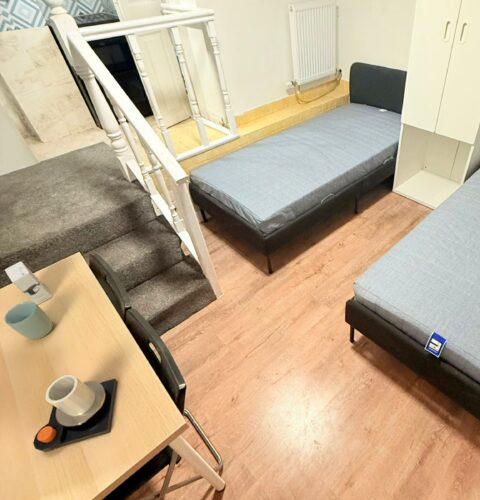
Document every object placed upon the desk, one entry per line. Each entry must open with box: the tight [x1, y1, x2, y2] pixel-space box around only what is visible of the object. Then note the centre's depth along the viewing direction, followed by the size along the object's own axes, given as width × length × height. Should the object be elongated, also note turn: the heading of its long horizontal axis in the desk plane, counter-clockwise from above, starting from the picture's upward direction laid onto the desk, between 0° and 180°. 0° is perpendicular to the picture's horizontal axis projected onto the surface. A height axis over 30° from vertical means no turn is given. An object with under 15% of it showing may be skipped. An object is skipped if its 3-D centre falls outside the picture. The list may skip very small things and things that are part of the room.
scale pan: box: [56, 380, 105, 427], centre depth 81 cm, size 11×11×1 cm
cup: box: [3, 300, 53, 340], centre depth 97 cm, size 8×8×10 cm
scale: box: [32, 378, 119, 453], centre depth 81 cm, size 15×14×4 cm
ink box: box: [4, 260, 53, 306], centre depth 106 cm, size 8×5×12 cm, turn 49°
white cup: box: [45, 374, 95, 416], centre depth 78 cm, size 6×6×8 cm
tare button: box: [37, 426, 57, 443], centre depth 76 cm, size 3×3×2 cm
